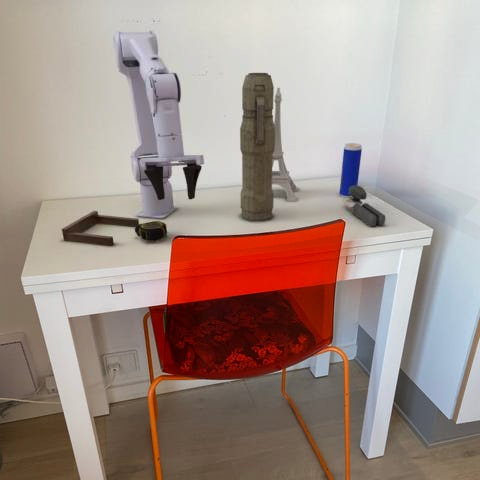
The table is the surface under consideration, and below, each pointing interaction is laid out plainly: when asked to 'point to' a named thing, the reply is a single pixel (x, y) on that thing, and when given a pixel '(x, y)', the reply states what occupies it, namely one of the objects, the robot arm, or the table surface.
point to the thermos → (257, 147)
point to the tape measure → (151, 230)
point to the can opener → (363, 207)
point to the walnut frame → (84, 223)
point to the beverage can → (350, 168)
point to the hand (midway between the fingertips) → (176, 199)
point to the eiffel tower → (281, 156)
